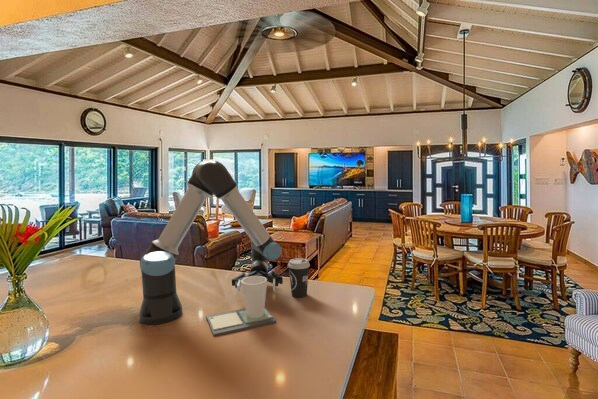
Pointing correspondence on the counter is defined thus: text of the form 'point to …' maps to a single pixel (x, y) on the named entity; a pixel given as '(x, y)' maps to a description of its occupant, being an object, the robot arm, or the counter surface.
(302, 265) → the coffee cup
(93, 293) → the counter surface
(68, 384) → the counter surface
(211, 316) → the tile board
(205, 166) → the robot arm
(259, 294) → the foam cup
